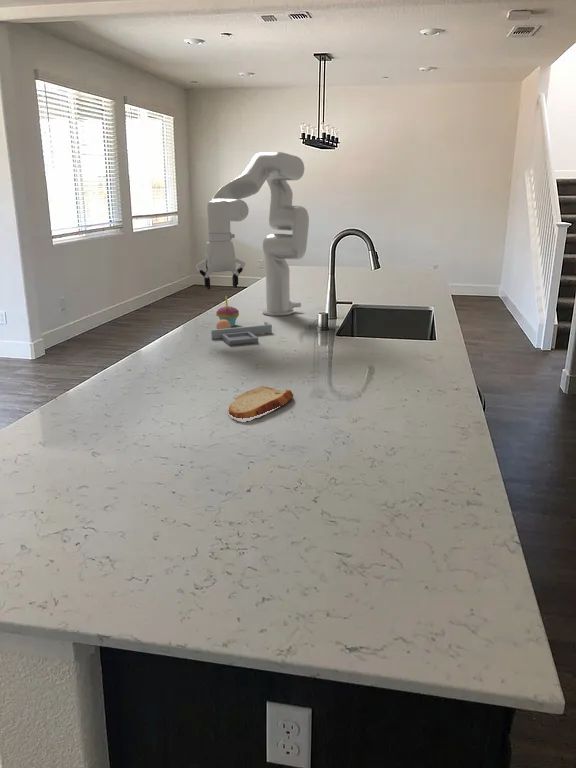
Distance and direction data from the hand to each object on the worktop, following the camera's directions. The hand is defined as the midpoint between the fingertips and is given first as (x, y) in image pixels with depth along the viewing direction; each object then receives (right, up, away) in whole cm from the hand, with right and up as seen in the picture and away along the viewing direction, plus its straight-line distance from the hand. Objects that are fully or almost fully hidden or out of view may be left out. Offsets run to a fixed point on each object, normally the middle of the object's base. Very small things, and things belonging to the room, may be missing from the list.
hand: (221, 287), depth 224 cm
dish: (+7, -19, -6) cm, 21 cm away
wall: (+6, -16, +4) cm, 17 cm away
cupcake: (+1, -12, +18) cm, 21 cm away
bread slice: (+17, -40, -67) cm, 80 cm away
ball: (0, -15, +5) cm, 16 cm away
